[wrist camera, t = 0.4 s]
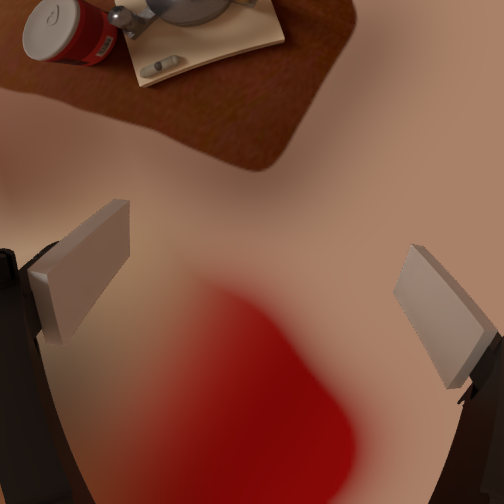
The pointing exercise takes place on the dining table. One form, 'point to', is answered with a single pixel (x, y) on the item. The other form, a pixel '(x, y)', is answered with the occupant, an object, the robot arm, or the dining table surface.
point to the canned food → (69, 33)
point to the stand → (199, 40)
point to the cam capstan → (170, 14)
